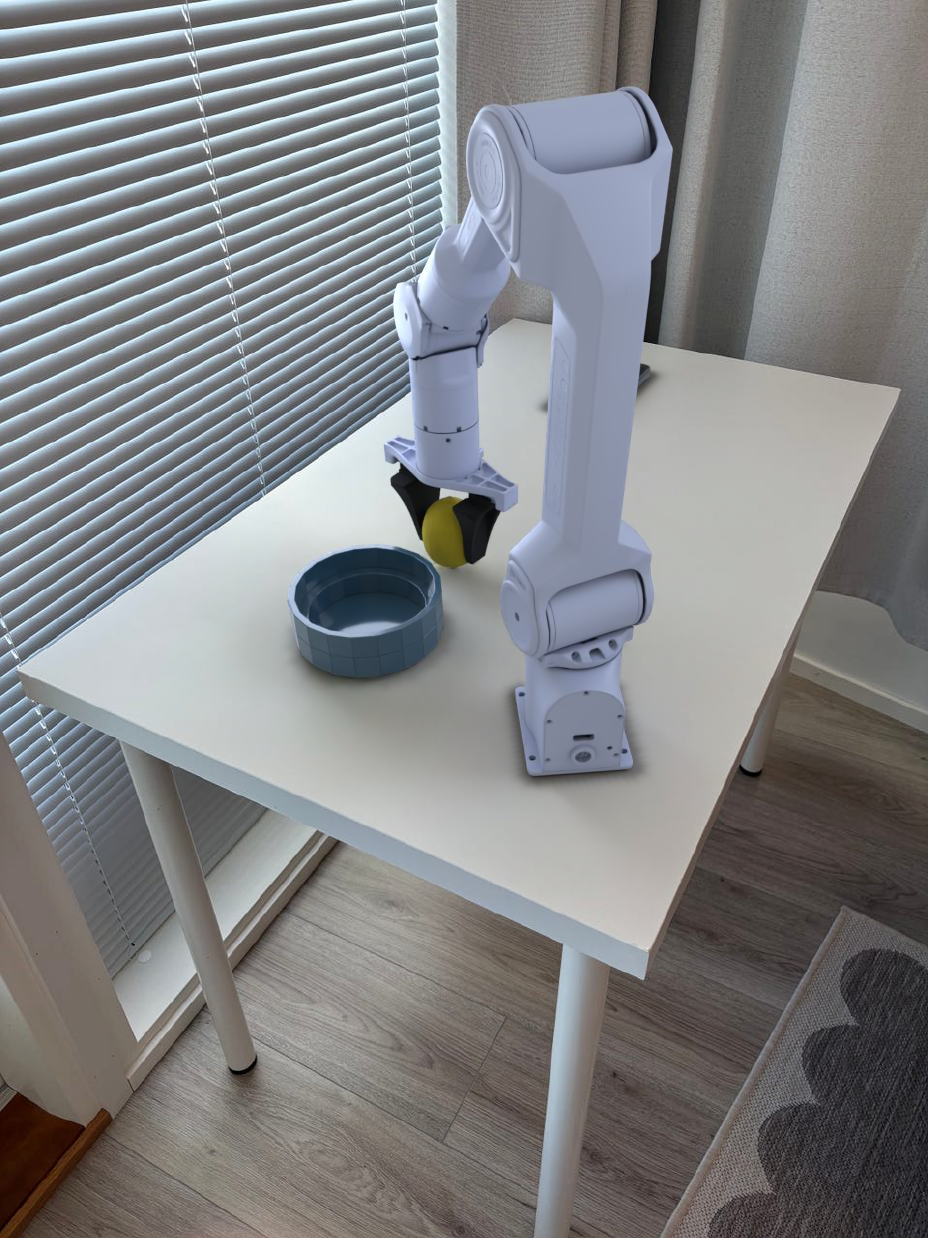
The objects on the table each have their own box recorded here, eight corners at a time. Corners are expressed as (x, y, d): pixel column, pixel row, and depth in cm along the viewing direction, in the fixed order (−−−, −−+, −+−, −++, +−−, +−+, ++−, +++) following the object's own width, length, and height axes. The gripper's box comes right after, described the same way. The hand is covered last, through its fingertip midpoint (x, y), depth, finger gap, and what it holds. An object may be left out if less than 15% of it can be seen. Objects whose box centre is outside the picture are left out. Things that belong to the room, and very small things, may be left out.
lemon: (475, 587, 90) (473, 516, 85) (418, 581, 91) (413, 510, 86) (486, 553, 94) (484, 484, 89) (431, 548, 95) (427, 479, 90)
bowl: (447, 676, 80) (445, 631, 77) (291, 687, 80) (282, 642, 77) (440, 583, 91) (437, 540, 87) (301, 592, 90) (293, 549, 87)
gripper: (540, 425, 81) (538, 555, 89) (416, 380, 88) (425, 504, 97) (487, 457, 77) (490, 591, 85) (362, 407, 84) (376, 535, 93)
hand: (452, 547), depth 91 cm, fingers closed on lemon, 5 cm apart
